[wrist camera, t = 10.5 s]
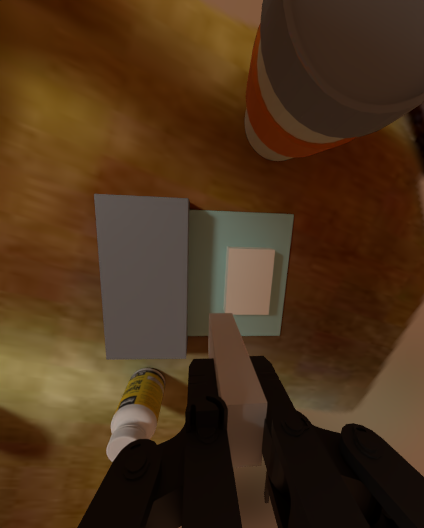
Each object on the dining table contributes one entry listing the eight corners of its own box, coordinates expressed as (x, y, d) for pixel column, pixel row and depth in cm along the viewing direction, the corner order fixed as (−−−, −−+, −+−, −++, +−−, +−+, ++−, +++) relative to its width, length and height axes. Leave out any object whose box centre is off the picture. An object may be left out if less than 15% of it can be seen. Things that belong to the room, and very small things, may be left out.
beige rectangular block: (275, 249, 26) (269, 247, 28) (228, 248, 26) (226, 246, 27) (268, 314, 28) (263, 308, 30) (225, 314, 27) (223, 308, 29)
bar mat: (189, 209, 26) (189, 209, 26) (292, 214, 27) (293, 214, 27) (187, 334, 30) (187, 335, 30) (279, 334, 31) (279, 335, 31)
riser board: (110, 198, 26) (94, 193, 22) (189, 202, 26) (188, 198, 22) (118, 341, 30) (106, 359, 26) (187, 340, 30) (185, 358, 26)
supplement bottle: (146, 359, 30) (122, 423, 21) (172, 380, 32) (162, 449, 22) (122, 382, 31) (88, 454, 21) (149, 402, 32) (128, 479, 22)
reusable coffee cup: (324, 175, 27) (477, 119, 12) (230, 176, 26) (271, 118, 11) (333, 63, 24) (542, -180, 10) (229, 61, 23) (282, -208, 9)
